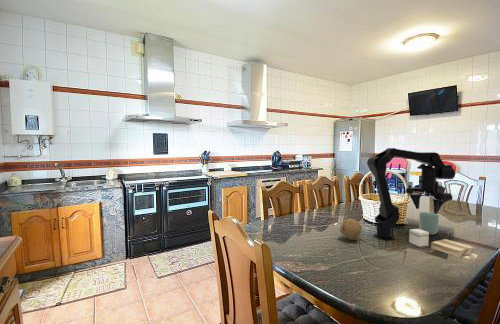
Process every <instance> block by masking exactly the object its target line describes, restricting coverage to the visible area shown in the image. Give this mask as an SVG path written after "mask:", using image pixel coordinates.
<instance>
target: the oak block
mask: <svg viewBox="0 0 500 324" xmlns="http://www.w3.org/2000/svg"><path fill="white" fill-rule="evenodd" d="M430 243H431V247H430V248H431V249H432V250H435V251H439V252H441V253H445V254H447V255H450V256H453V257H457V258H463V257H466V256H469V255H472V253H473V254H474V246H471V245H468V244H465V243H461V242H457V241H453V240H451V239H447V238H444V239H440V240H434V241H431V242H430ZM462 256H463V257H462Z"/></svg>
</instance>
